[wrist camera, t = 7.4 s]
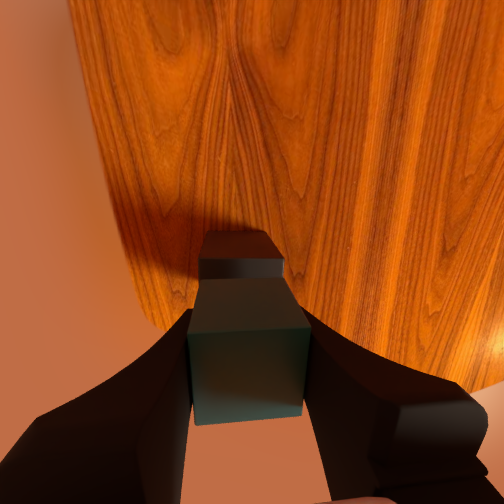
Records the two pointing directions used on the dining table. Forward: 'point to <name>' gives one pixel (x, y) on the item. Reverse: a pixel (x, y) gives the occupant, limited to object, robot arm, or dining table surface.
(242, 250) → the dark brown block
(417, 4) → the dining table surface
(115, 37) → the dining table surface
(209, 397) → the teal block
